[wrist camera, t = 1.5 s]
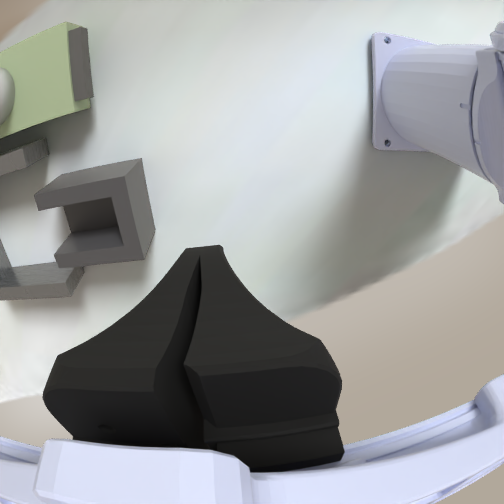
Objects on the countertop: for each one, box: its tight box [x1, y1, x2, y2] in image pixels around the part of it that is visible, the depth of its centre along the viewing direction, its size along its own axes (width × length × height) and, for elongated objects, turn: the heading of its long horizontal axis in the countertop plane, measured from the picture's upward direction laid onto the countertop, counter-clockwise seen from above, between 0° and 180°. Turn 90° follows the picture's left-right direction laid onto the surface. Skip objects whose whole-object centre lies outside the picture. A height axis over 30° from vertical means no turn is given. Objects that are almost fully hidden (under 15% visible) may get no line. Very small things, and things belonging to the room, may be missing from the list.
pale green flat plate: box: [0, 22, 94, 139], centre depth 12 cm, size 12×6×4 cm, turn 94°
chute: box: [34, 158, 156, 269], centre depth 18 cm, size 6×5×4 cm
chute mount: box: [0, 138, 84, 300], centre depth 17 cm, size 9×11×3 cm
